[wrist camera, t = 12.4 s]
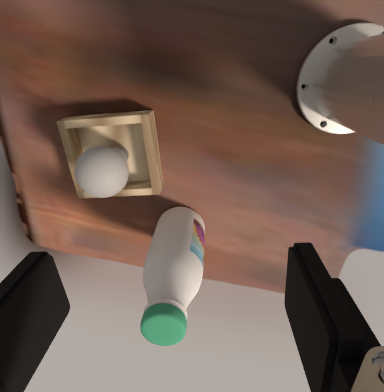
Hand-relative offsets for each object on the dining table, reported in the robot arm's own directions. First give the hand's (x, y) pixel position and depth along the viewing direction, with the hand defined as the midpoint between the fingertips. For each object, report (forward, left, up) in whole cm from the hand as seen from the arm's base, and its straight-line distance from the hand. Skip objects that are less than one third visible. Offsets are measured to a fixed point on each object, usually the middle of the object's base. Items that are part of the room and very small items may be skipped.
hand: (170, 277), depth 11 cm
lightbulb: (+11, +3, -30) cm, 32 cm away
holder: (+12, +3, -30) cm, 33 cm away
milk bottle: (+4, +16, -31) cm, 35 cm away
